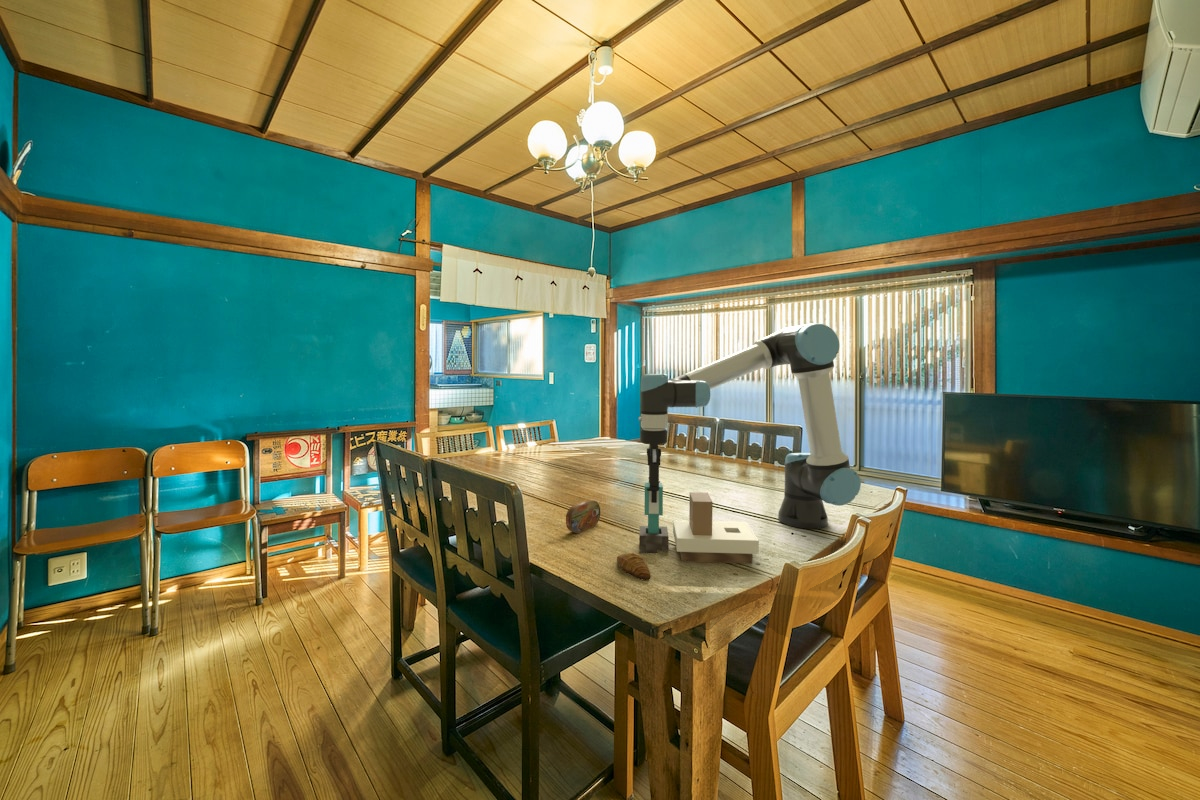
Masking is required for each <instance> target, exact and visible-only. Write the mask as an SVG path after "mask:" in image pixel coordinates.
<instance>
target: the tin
mask: <svg viewBox="0 0 1200 800" xmlns="http://www.w3.org/2000/svg"><path fill="white" fill-rule="evenodd" d="M600 518H601V506H600V504H599V502H598V501H596V500H585V501H582V502H579V503H577V504H575V505H574V504H573V506H571V507H570V508H569V509H568V510H567V512H566V515H565V524H566V528H567V530H568V531H569V532H570V533H571V532H572V533H575V534H580V533H582V532H584V531H587V530H589V529H591V528H593V527H595V526H596V525H597V524H598V523H599V520H600Z"/></svg>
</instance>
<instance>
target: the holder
mask: <svg viewBox="0 0 1200 800" xmlns="http://www.w3.org/2000/svg"><path fill="white" fill-rule="evenodd" d="M638 533H639V540H638V541H639V542H638V543H639V545H638V546H639V552H638V553H639V554H653V555H654V554H658V553H659V552H658V551H669V543H670V542H669V541H670V540H669V537H670V536H669V531H668V527H667V526H660V525H659V534H648V525H639V532H638Z"/></svg>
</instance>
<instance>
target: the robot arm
mask: <svg viewBox="0 0 1200 800" xmlns="http://www.w3.org/2000/svg"><path fill="white" fill-rule="evenodd" d="M839 352H840V339H839V337H838V335H837V333H836V332H835V331H834V329H832V328H831V327H830V326H828V325H826V324H824V323H813V322H812V323H806V324H801V325H794V326H793V325H792V326H788V327H784V328H782V329H779V330H777V331H775V332H773V333H771V334H770V335H767V336H765V337H763V338H761V339H758V340H755V342H754V343H753V345H752V346H750V347H747V348H745V349H743V350H739V351H737V352H735V353H732V354H730V355H727V356H724V357H722V358H719V359H717V360H715V361H713V362H711V363H708V364H705V365H703V366H701V367H698V368H696V369H693V370H691V371H689V372H685V373H684V374H681V375H679V376H676V377H674V378H668V377H669V376H668V374H666V373H644V374H642V376H641V378H640V379H641V380H640V390H639V391H640V416H639V417H638V421H640V427H641V429H640V443H642V444H644V445H645V444H646V445H649V447H648V448H646V456H647V465H648V483H650V487H649V489H647V491H649V514H659V483H661V481H660V466H661V456H662V449H661V448H659V445H664V444H667V443H668V430H667V428H668V427H669V425H668V423H669V422H668V421H669V418H668V416H669V413H668V412H669V411H668V410H669V409H668V408H702V407H703V408H705V407H706V406H707V405H708V404H709V403H710V400H711V390H713V389H715V388H717V387H720V386H722V385H724V384H727V383H729V382H732V381H734V380H737V379H739V378H742V377H744V376H746V375H748V374H751V373H753V372H755V371H758V370H760V369H764V370H769V369H772V368H774V367H778V366H783V365H784V366H785V365H789V366H790V372H791V374H792V375H793V376H795V377H796V378H797V380H798V381H797V382H798V386H799V391H800V392H799V393H800V399H801V403H802V404H801V405H802V410H803V416H804V423H805V429H806V434H807V441H808V447H809V452H792V453H788V454H786V456H785V461H784V496H783V498H782V499H783V500H782V502H781V505H780V507H779V510H778V516H777V517H778V521H779V522H780V523H782V524H784V525H787V526H790V527H794V528H799V529H809V530H810V529H811V530H813V529H815V530H817V529H823V528H826V527H828V523H829V522H828V520H829V517H828V515H827V511H826V508H825V504H824V503H826V504H830V505H833V506H845V505H848V504H850V503H851V502H852V501H854V500H855V498H856V496H858V495H859V493H860V490H861V488H862V487H861V485H862V483H861V482H862V481H861V477H860V475H859V473H857V472H856V471H855V470H854V469H853V468H851V465H850V460H849V456H848V455H847V454H846V453H844V452H843V451H842V445H841V440H840V439H841V438H840V432H839V426H838V421H837V413H836V407H835V406H836V405H835V399H834V394H833V387H832V382H831V371H833V370H834V367H835V363H834V360H835V359H836V358H837V355H838V354H839Z"/></svg>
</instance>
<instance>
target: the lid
mask: <svg viewBox="0 0 1200 800" xmlns="http://www.w3.org/2000/svg"><path fill="white" fill-rule="evenodd" d="M713 503H714V502H713V500H712V498H711V496H710V494H709V493H708V492H694V491H693V492H691V491H689V510H688V511H689V516H688V517H689V520H683V519H681V520H676V519H674V520H673V521H672V524H673V526H672V527H673V528H672V532H673V538H674V543H675V544H674V545H675V548H676V552H679V553H680V552H707V553H742V554H752V555H759V554H760V551H759V550H760V549H759V548H760V541H759V539H758V537H757V536H756V534H755V533H754V531H753V529H752V528H751V526H750V525H749V524H748V522H747V521H726V520H725V521H724V520H723V521H722V520H719V521H718V520H713V507H714V505H713Z"/></svg>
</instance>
